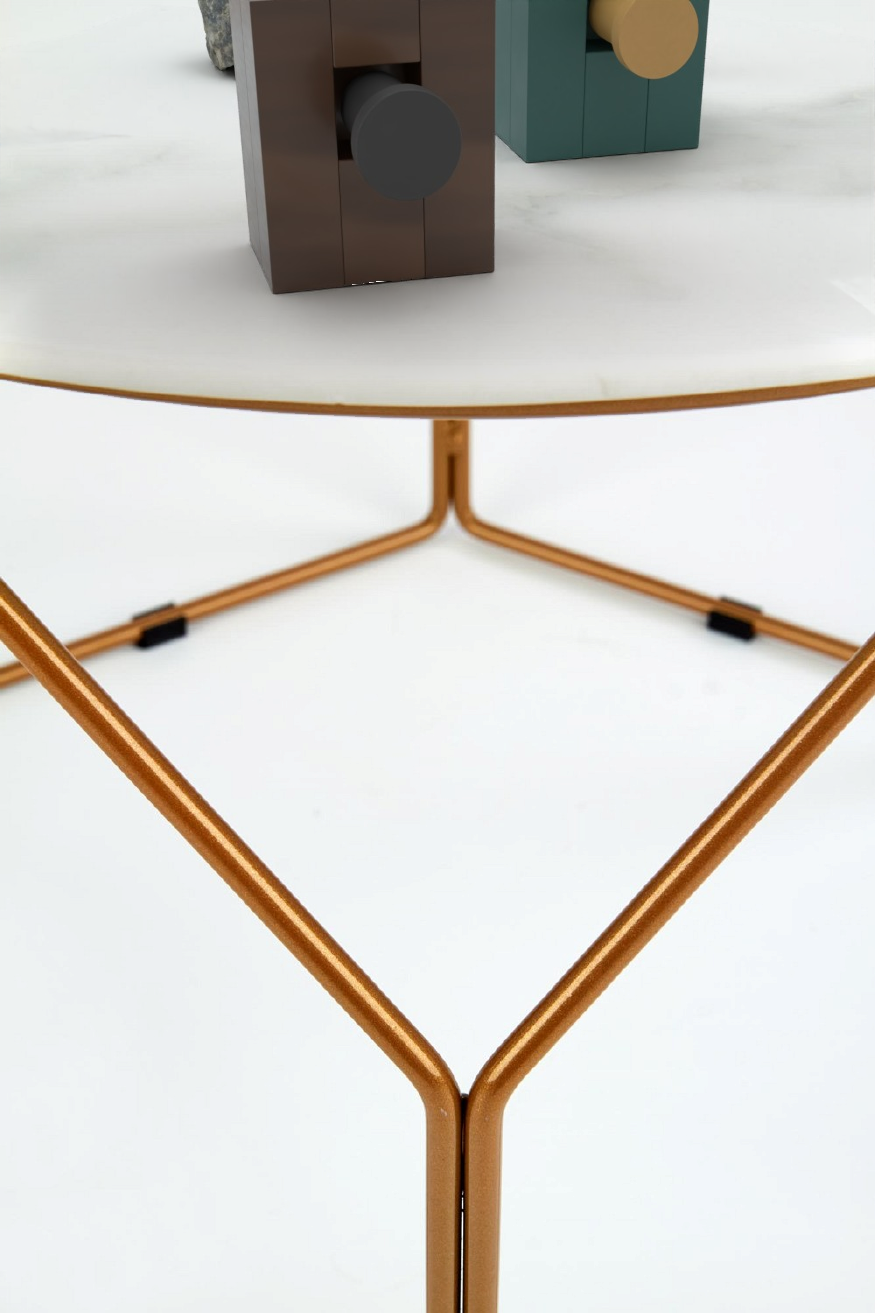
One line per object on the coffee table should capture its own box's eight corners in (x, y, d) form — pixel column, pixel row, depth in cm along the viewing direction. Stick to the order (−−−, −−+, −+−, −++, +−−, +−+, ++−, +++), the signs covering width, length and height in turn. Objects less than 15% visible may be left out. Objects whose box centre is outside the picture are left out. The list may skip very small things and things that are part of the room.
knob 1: (328, 161, 70) (322, 57, 67) (424, 153, 71) (422, 50, 68) (358, 205, 64) (353, 93, 61) (462, 196, 65) (462, 85, 62)
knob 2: (575, 54, 88) (577, -31, 85) (649, 49, 89) (654, -36, 86) (616, 81, 82) (620, -9, 79) (695, 75, 83) (702, -14, 80)
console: (490, 129, 96) (490, -96, 89) (652, 116, 98) (665, -105, 91) (526, 162, 90) (529, -78, 82) (698, 147, 92) (716, -88, 84)
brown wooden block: (249, 242, 78) (225, -30, 71) (454, 223, 80) (451, -43, 73) (272, 293, 72) (249, 1, 64) (494, 271, 74) (496, -15, 66)
